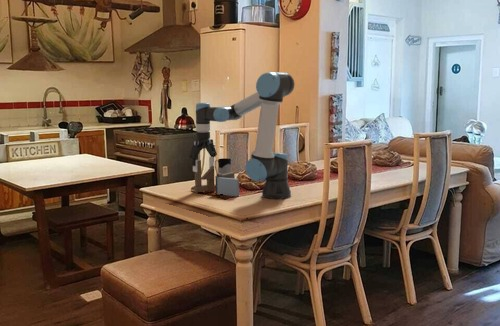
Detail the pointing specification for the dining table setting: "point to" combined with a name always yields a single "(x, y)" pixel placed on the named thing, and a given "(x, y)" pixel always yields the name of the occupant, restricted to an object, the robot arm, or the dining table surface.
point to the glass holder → (223, 166)
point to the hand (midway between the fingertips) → (203, 170)
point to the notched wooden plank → (227, 175)
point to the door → (228, 186)
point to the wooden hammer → (207, 176)
